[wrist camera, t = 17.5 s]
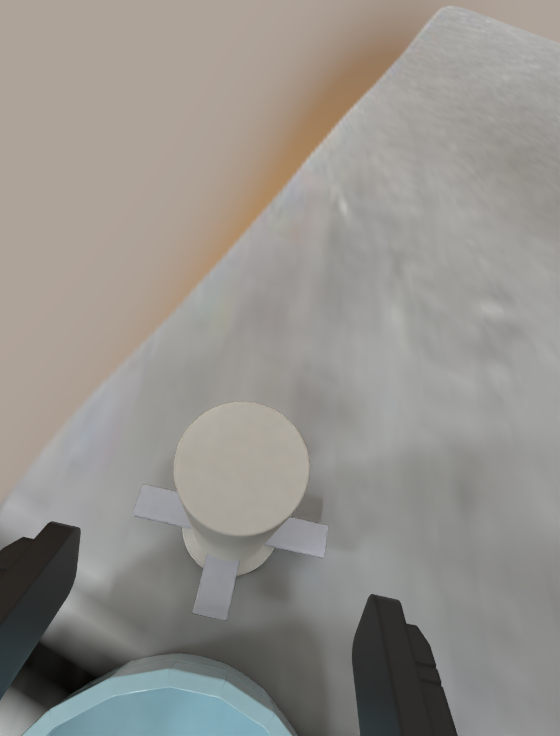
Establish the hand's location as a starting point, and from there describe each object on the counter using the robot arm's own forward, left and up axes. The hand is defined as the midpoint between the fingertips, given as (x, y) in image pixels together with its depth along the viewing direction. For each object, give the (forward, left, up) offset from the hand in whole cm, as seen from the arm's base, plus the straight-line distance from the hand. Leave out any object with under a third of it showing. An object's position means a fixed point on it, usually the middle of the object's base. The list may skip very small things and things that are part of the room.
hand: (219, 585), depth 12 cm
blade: (0, -3, -12) cm, 13 cm away
